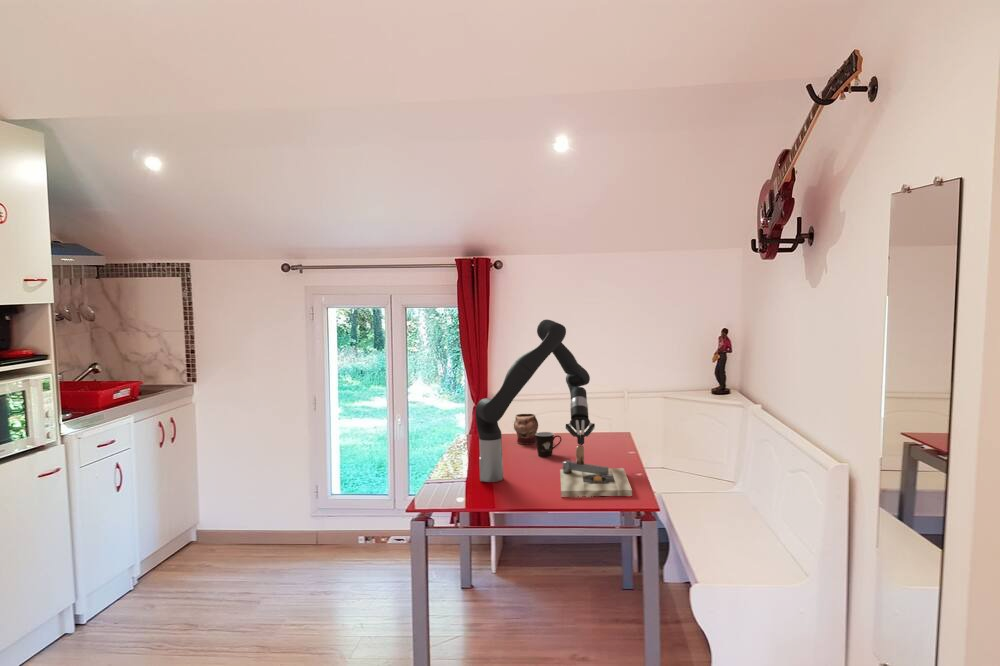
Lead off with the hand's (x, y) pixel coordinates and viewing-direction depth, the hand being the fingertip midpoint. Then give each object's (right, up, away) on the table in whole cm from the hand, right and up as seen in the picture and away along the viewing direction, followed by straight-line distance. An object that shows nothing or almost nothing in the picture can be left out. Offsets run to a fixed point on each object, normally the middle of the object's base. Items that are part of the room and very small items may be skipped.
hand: (581, 444), depth 276 cm
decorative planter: (-20, -8, +57) cm, 61 cm away
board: (+3, -13, -17) cm, 22 cm away
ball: (+4, -11, -16) cm, 20 cm away
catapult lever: (0, -10, -12) cm, 16 cm away
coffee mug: (-12, -10, +29) cm, 33 cm away
